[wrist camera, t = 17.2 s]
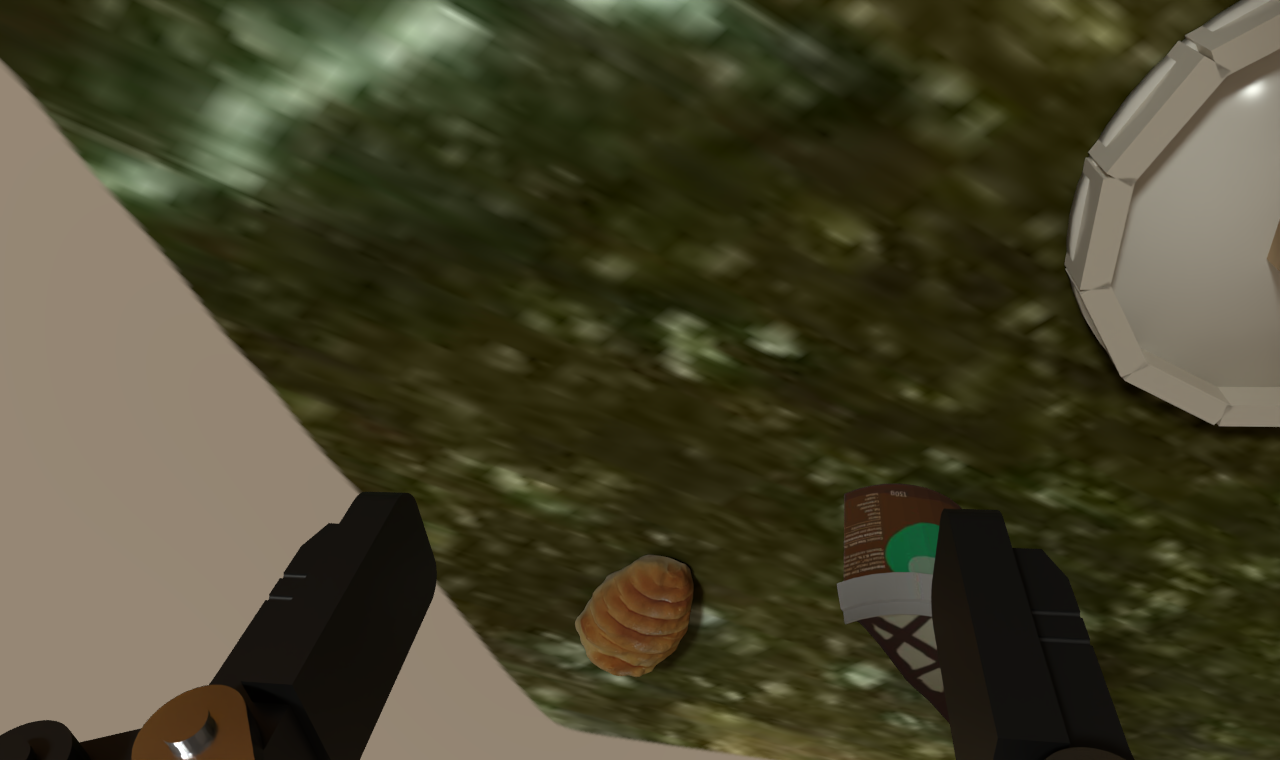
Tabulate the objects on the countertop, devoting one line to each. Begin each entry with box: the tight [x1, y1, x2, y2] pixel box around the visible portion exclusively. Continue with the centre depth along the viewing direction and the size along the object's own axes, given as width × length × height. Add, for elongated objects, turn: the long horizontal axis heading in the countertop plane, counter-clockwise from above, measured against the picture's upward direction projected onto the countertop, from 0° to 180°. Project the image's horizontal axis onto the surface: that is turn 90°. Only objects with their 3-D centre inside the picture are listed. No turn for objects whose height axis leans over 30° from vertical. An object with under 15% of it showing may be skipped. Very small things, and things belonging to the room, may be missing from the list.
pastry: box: [575, 555, 694, 677], centre depth 54 cm, size 9×7×4 cm
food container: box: [837, 484, 961, 724], centre depth 44 cm, size 12×6×10 cm, turn 38°
